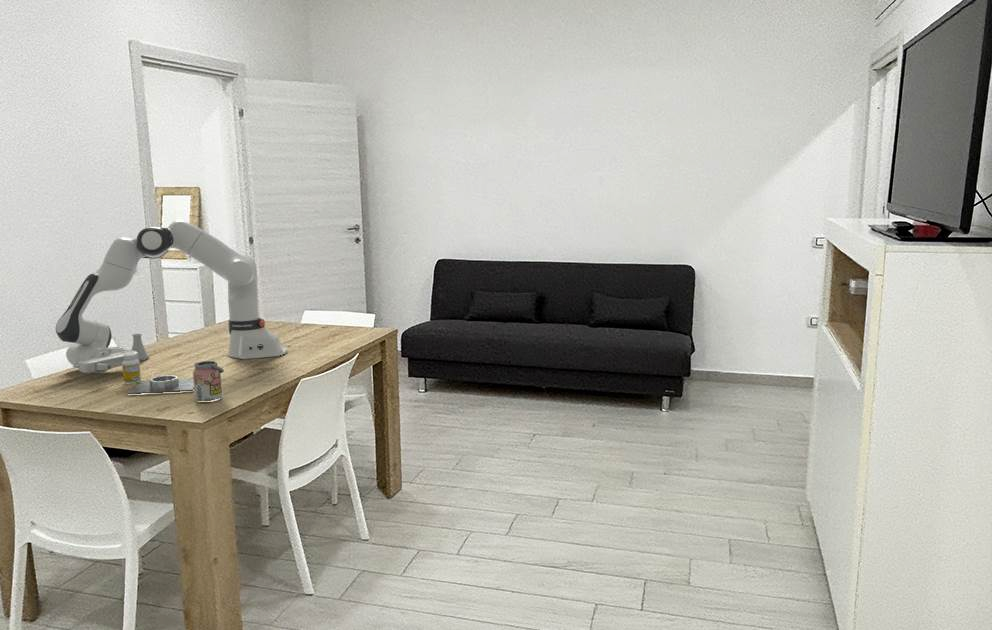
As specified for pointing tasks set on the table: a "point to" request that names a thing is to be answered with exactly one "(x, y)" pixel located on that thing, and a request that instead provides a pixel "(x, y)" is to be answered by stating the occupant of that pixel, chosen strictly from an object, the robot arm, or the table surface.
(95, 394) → the table surface
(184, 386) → the collar plate
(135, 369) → the supplement bottle
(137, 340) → the flask
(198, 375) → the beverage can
